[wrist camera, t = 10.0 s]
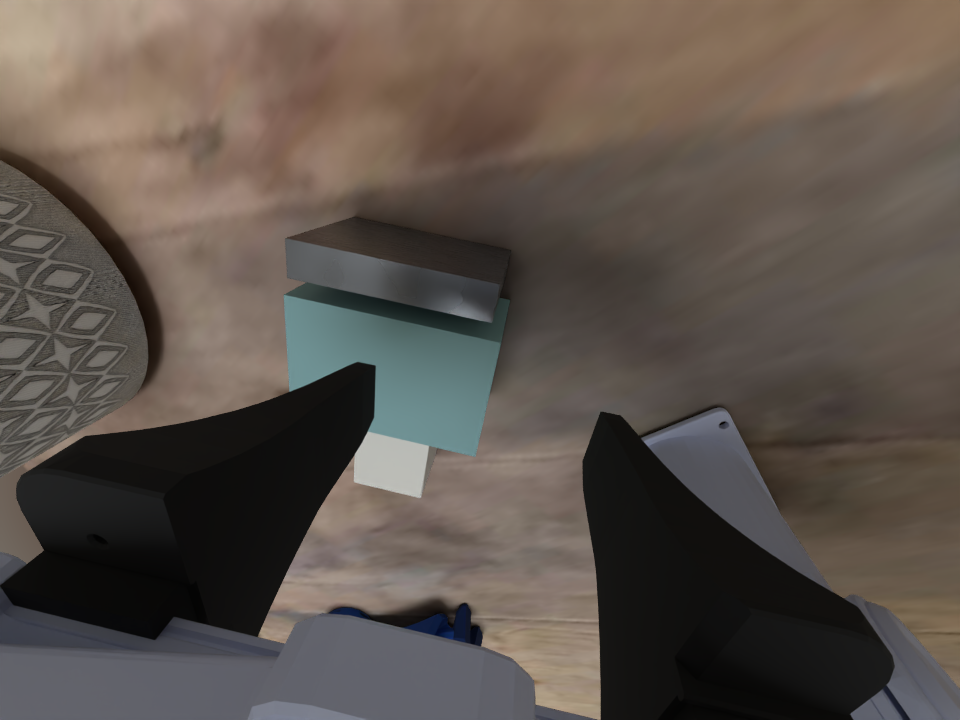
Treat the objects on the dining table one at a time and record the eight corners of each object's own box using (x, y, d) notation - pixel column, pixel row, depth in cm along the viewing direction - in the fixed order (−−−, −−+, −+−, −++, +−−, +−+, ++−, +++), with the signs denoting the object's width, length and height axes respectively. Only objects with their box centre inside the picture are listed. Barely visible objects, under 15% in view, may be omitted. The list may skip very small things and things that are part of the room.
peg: (436, 452, 26) (420, 498, 23) (378, 438, 26) (353, 482, 23) (460, 314, 21) (444, 344, 18) (389, 298, 22) (360, 325, 18)
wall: (504, 279, 20) (492, 323, 15) (353, 247, 20) (287, 277, 15) (510, 250, 19) (499, 284, 14) (353, 216, 20) (284, 238, 14)
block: (488, 395, 23) (475, 456, 18) (341, 362, 23) (291, 413, 19) (510, 299, 20) (501, 343, 16) (342, 263, 21) (283, 294, 16)
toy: (462, 584, 33) (311, 603, 36) (450, 669, 28) (273, 682, 31) (487, 632, 36) (344, 646, 39) (481, 718, 30) (314, 725, 34)
